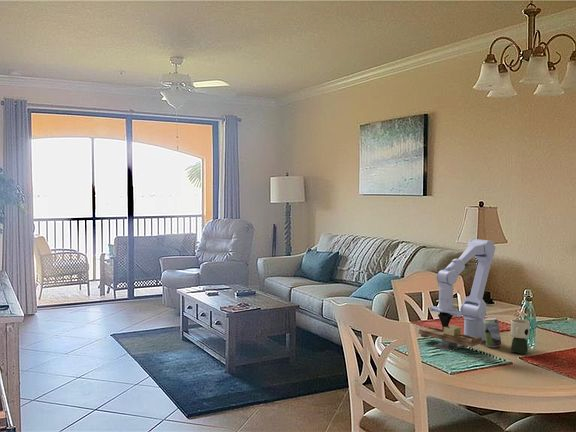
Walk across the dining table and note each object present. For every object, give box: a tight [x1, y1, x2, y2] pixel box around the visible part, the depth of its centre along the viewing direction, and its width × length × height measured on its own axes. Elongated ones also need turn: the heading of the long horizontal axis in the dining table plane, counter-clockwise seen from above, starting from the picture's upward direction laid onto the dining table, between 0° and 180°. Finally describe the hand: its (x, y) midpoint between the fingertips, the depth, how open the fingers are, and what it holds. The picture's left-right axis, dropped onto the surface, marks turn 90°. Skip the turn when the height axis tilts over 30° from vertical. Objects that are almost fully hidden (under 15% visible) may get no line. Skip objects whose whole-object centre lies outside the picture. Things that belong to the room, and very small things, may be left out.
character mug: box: [510, 318, 531, 355], centre depth 226 cm, size 11×7×13 cm, turn 147°
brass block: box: [443, 324, 462, 338], centre depth 234 cm, size 5×5×4 cm
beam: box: [418, 326, 484, 348], centre depth 235 cm, size 25×9×4 cm, turn 42°
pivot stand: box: [432, 340, 466, 352], centre depth 235 cm, size 8×13×3 cm, turn 132°
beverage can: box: [483, 317, 502, 348], centre depth 235 cm, size 6×7×12 cm
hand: (445, 330), depth 236 cm, fingers closed
